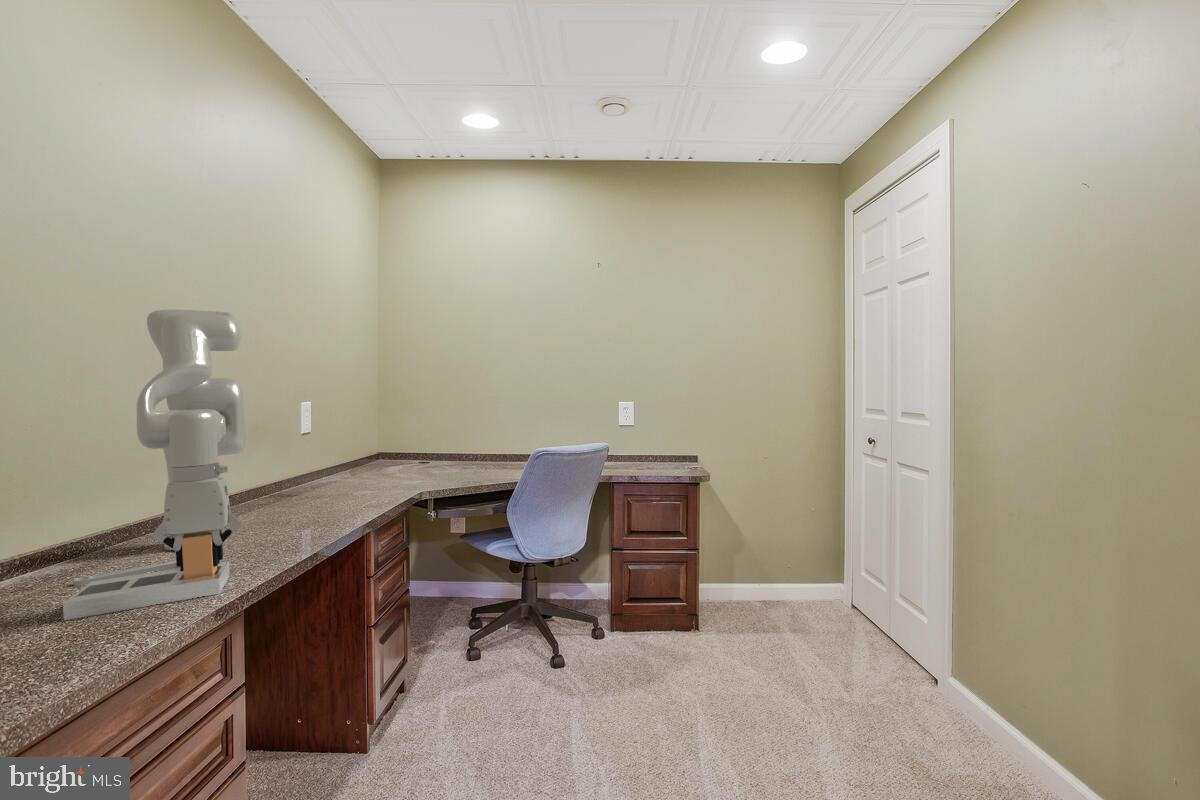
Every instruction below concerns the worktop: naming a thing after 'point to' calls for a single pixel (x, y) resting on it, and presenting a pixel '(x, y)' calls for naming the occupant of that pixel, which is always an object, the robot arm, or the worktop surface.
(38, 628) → the worktop surface
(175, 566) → the grey slotted rack
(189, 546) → the rectangular block
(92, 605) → the grey compartment tray
